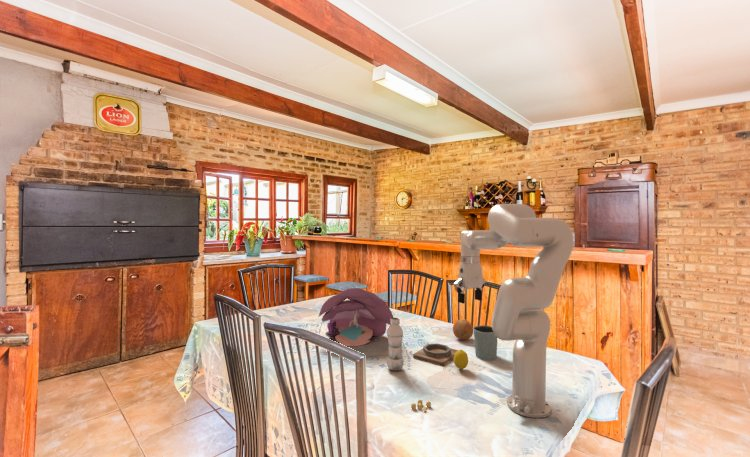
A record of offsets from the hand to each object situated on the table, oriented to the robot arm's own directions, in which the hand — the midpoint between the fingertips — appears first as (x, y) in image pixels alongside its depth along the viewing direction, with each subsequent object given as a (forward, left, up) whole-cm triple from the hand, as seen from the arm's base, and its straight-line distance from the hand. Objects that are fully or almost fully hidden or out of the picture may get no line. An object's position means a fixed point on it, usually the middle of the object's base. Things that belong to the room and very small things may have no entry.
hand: (469, 301), depth 145 cm
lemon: (-10, -1, -25) cm, 27 cm away
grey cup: (+9, -4, -25) cm, 27 cm away
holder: (-3, +13, -25) cm, 28 cm away
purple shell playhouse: (-8, +55, -25) cm, 61 cm away
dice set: (-43, -2, -26) cm, 51 cm away
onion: (+23, +12, -25) cm, 36 cm away
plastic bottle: (-25, +20, -25) cm, 41 cm away
